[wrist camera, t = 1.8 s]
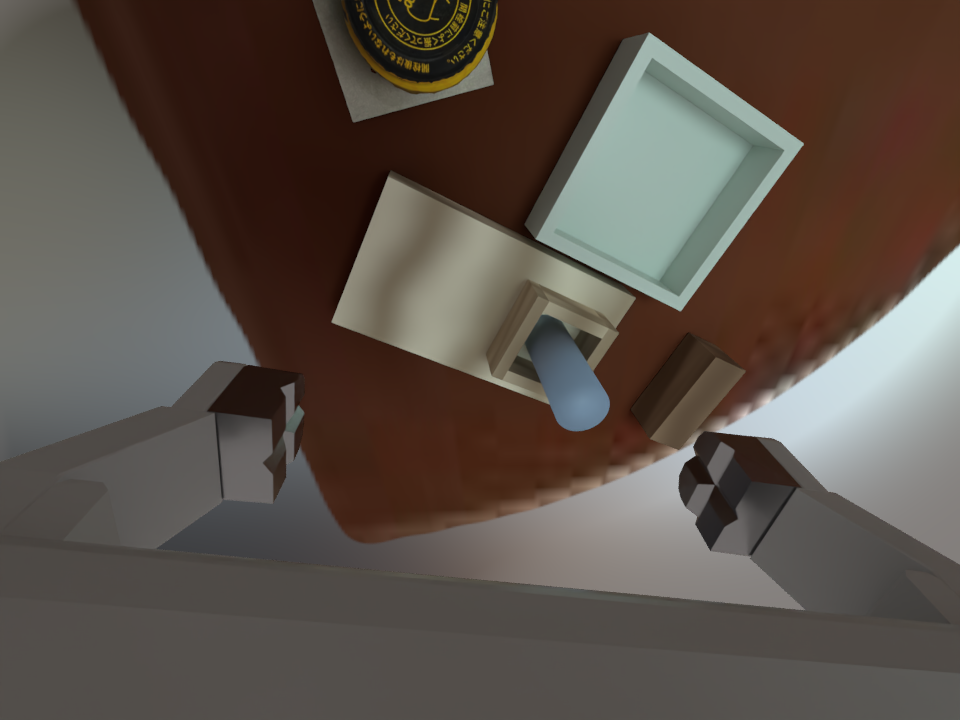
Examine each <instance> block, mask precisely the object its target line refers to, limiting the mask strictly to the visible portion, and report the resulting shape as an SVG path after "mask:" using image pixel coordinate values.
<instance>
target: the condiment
mask: <svg viewBox="0 0 960 720" xmlns="http://www.w3.org/2000/svg"><path fill="white" fill-rule="evenodd" d="M312 1H313V4H314V7H315V10H316V13H317V16H318V19H319V21H320V25H321V28H322V30H323V33H324V36H325V39H326V42H327V45H328V48H329V51H330V54H331V57H332V60H333V62H334V66H335V69H336V72H337V76H338V78H339V82H340V85H341V88H342V90H343V93H344V96H345V99H346V103H347V106H348V109H349V112H350V115H351V118H352V121H353V123H354V122H357V121H361V120H365V119H369V118H372V117H376V116H380V115H383V114H387V113H390V112H394V111H398V110H402V109H405V108H409V107H413V106H416V105H420V104H424V103H427V102H431V101H435V100H438V99H442V98H446V97H449V96H453V95H457V94H460V93H464V92H468V91H472V90H475V89H479V88H483V87H486V86H490V85H494V83H493V78H492V73H491V67H490V62H489V57H488V52H487V49H488V47H489V44H490V42H491V40H492V38H493V34H494V30H495V25H496V20H497V11H498V5H497V2H498V0H312ZM371 68H372V69H373V70H374V71H375V72H376V74H375V73H373V72H371ZM381 76H382V77H381Z"/></svg>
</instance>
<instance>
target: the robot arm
mask: <svg viewBox="0 0 960 720" xmlns="http://www.w3.org/2000/svg"><path fill="white" fill-rule="evenodd" d="M304 394H305V379H304V376H303V374H302V373H296V372H289V371H283V370H277V369H271V368H264V367H258V366H252V365H246V364H240V363H231V362H223V361H218V362H215V363H214V364H212V365H211V366H210V368H208V370H207V371H206V372H205V373H204V374H203V375H202V376H201V377H200V378H199V379H198V380H197V381H196V382H195V383H194V384H193V385H192V386H191V387H190V388H189V389H188V390H187V391H186V392H185V393H184V394H183V395H182V397H180V399H179V400H177V401H176V403H175V404H174V405H173V406H172V407H164V406H161V407H158V408H155V409H152V410H149V411H146V412H143V413H140V414H137V415H135V416H132V417H129V418H126V419H123V420H120V421H117V422H114V423H111V424H108V425H106V426H103V427H100V428H97V429H94V430H91V431H88V432H85V433H83V434H80V435H77V436H74V437H71V438H68V439H65V440H62V441H59V442H56V443H54V444H51V445H48V446H45V447H42V448H39V449H36V450H33V451H31V452H28V453H25V454H22V455H19V456H16V457H13V458H10V459H7V460H4V461H1V462H0V720H960V565H959V564H958V563H956V562H954V561H953V560H951V559H949V558H947V557H946V556H943V555H942V554H940V553H939V552H937V551H935V550H933V549H932V548H930V547H928V546H927V545H925V544H923V543H921V542H920V541H918V540H916V539H914V538H913V537H911V536H909V535H907V534H906V533H904V532H902V531H901V530H899V529H897V528H895V527H894V526H892V525H890V524H888V523H887V522H885V521H883V520H881V519H880V518H878V517H876V516H875V515H873V514H871V513H869V512H867V511H866V510H864V509H862V508H861V507H859V506H857V505H855V504H854V503H852V502H850V501H849V500H847V499H845V498H843V497H842V496H840V495H838V494H836V493H833V492H828V491H827V490H826V489H825V488H824V487H823V486H822V485H821V484H820V483H819V482H818V481H817V480H816V479H815V478H814V476H813V475H812V474H811V473H810V472H809V471H808V470H807V469H806V468H805V467H804V466H803V465H802V464H801V463H800V462H799V461H798V460H797V459H796V458H795V457H794V456H793V455H792V454H791V453H790V452H789V450H788V449H787V448H786V447H785V446H784V445H783V444H782V443H781V442H779V441H777V440H775V439H772V438H762V437H752V436H742V435H733V434H724V433H716V432H707V431H704V432H703V433H702V434H701V435H700V436H699V437H698V438H697V440H696V442H695V444H694V446H693V448H694V451H695V454H696V456H695V457H693V458H692V459H690V460H689V461H687V462H686V463H685V464H684V466H683V468H682V471H681V473H680V475H679V492H680V497H681V499H682V501H683V503H684V505H685V507H686V508H687V509H689V510H690V511H691V512H692V513H694V514H695V515H696V516H697V520H696V524H695V525H696V526H697V528H698V530H699V532H700V533H701V535H702V537H703V539H704V541H705V542H706V544H707V546H708V548H709V549H710V551H715V552H721V553H729V554H736V555H743V556H751V558H750V559H751V560H752V561H753V562H754V563H756V564H757V565H758V566H759V567H760V568H761V569H762V570H763V571H764V572H765V573H766V574H767V575H768V576H770V577H771V578H772V579H773V580H774V581H775V582H776V583H777V584H778V585H779V586H780V587H781V588H782V589H784V590H785V591H786V592H787V593H788V594H789V595H790V596H791V597H792V598H793V599H794V600H795V601H797V602H798V603H799V604H800V605H801V606H802V607H803V608H804V609H805V610H806V611H805V610H795V609H784V608H774V607H763V606H753V605H742V604H731V603H722V602H710V601H700V600H690V599H680V598H670V597H659V596H648V595H638V594H627V593H616V592H605V591H595V590H584V589H573V588H563V587H552V586H541V585H530V584H520V583H508V582H498V581H487V580H477V579H465V578H455V577H444V576H434V575H423V574H413V573H402V572H391V571H380V570H370V569H359V568H349V567H339V566H327V565H318V564H306V563H296V562H286V561H274V560H264V559H254V558H244V557H233V556H222V555H211V554H201V553H191V552H180V551H170V550H158V549H156V548H157V547H158V546H160V545H161V544H163V543H164V542H166V541H167V540H168V539H170V538H171V537H173V536H174V535H176V534H177V533H179V532H180V531H181V530H183V529H184V528H186V527H187V526H189V525H190V524H191V523H193V522H194V521H196V520H197V519H199V518H200V517H201V516H203V515H204V514H206V513H207V512H209V511H210V510H211V509H213V508H214V507H216V506H217V505H218V504H220V503H221V502H222V499H223V500H236V501H247V502H260V503H274V501H275V499H276V497H277V495H278V493H279V491H280V488H281V487H282V484H283V482H284V480H285V478H286V465H287V464H289V463H290V462H292V461H294V459H295V457H296V454H297V452H298V450H299V446H300V443H301V439H302V435H303V427H304V412H303V411H302V409H301V408H300V407H299V404H300V402H301V400H302V398H303V396H304Z"/></svg>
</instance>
